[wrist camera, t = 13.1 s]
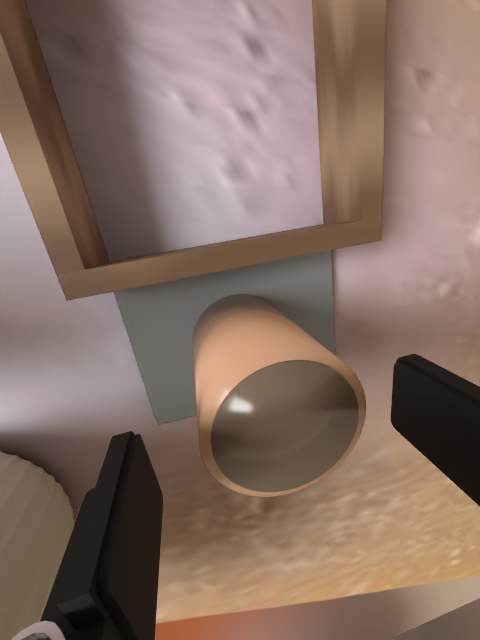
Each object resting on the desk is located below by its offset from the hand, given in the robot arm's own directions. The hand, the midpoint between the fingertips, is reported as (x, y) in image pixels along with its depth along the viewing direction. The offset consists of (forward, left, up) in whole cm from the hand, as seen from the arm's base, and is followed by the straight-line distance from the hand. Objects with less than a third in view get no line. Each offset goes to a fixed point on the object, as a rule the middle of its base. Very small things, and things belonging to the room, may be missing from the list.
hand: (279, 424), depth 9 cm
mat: (+1, 0, -10) cm, 10 cm away
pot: (0, 0, -9) cm, 9 cm away
